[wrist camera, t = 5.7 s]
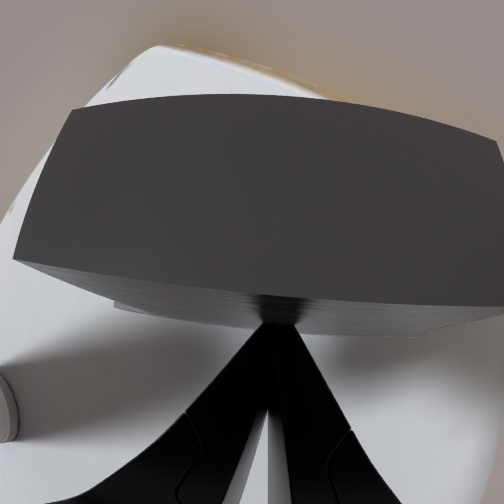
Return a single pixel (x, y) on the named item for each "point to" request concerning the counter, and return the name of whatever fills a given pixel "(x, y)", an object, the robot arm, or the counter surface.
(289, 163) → the lid
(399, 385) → the counter surface
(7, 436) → the travel mug
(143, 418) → the counter surface
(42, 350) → the counter surface
